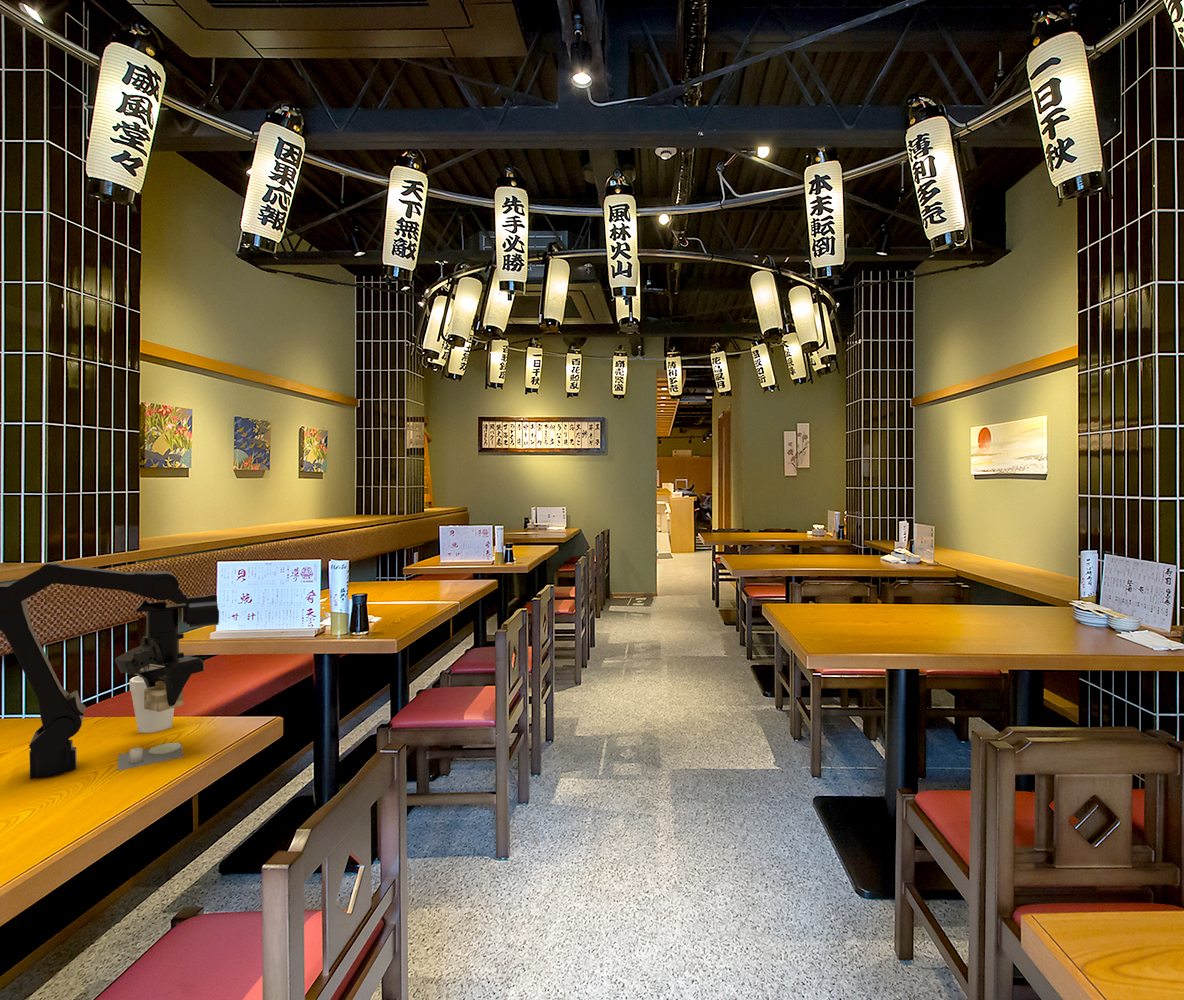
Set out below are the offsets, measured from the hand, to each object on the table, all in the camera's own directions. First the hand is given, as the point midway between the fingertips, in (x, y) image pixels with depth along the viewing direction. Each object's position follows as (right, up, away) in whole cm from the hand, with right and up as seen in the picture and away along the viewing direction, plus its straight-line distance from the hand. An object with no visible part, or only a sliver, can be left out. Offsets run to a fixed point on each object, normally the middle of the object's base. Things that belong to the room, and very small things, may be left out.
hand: (163, 704), depth 137 cm
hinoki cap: (0, -1, 0) cm, 1 cm away
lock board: (-1, -11, -3) cm, 11 cm away
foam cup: (-11, -11, +14) cm, 21 cm away
